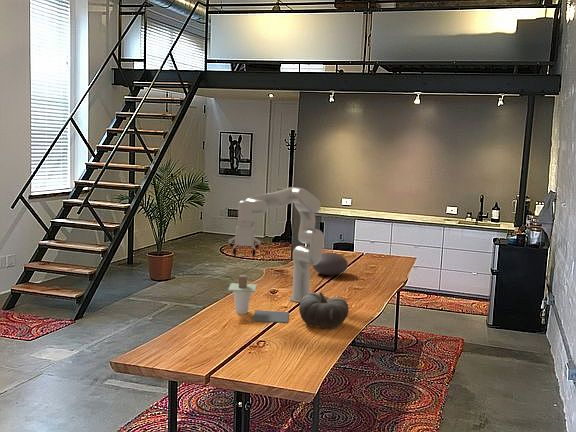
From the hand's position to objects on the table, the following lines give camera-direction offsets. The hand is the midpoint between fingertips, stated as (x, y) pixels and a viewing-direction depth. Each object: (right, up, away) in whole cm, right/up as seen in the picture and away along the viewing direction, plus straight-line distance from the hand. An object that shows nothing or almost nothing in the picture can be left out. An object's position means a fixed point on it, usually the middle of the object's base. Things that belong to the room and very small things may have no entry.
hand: (244, 256), depth 334 cm
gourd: (+41, -34, -11) cm, 55 cm away
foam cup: (-2, -30, +4) cm, 31 cm away
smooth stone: (+51, -19, +102) cm, 115 cm away
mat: (+14, -32, -3) cm, 35 cm away
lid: (-1, -17, +2) cm, 17 cm away
